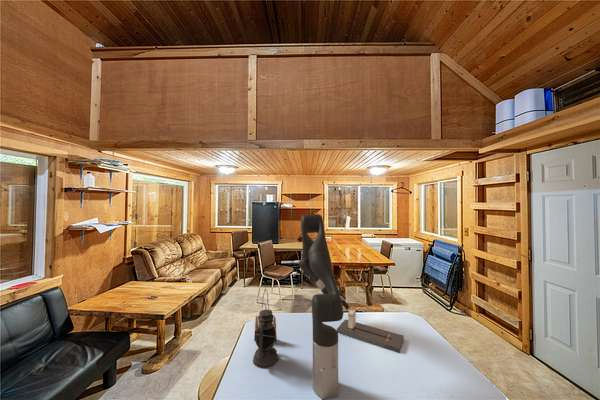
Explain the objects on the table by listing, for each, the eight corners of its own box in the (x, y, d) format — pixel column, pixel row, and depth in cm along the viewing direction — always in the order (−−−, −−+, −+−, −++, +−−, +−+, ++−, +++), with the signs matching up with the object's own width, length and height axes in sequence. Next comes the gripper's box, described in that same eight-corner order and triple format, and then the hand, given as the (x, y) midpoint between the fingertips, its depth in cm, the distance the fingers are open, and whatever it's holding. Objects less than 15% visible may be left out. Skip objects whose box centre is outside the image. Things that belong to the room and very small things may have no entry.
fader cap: (348, 327, 120) (348, 311, 120) (351, 323, 123) (350, 308, 123) (353, 328, 118) (352, 313, 118) (355, 325, 122) (355, 310, 122)
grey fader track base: (336, 332, 119) (336, 328, 119) (345, 322, 129) (345, 319, 129) (399, 353, 103) (399, 348, 103) (403, 339, 113) (403, 335, 113)
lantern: (272, 371, 91) (273, 295, 92) (247, 367, 93) (248, 293, 94) (281, 351, 103) (281, 284, 104) (259, 348, 106) (259, 282, 106)
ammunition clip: (276, 339, 113) (276, 315, 113) (276, 342, 111) (276, 316, 111) (255, 339, 114) (255, 314, 114) (254, 341, 112) (254, 316, 112)
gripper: (324, 285, 121) (345, 313, 115) (335, 278, 133) (354, 302, 127) (315, 293, 124) (335, 321, 118) (327, 285, 136) (345, 310, 130)
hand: (345, 311), depth 122 cm, fingers open, 8 cm apart
